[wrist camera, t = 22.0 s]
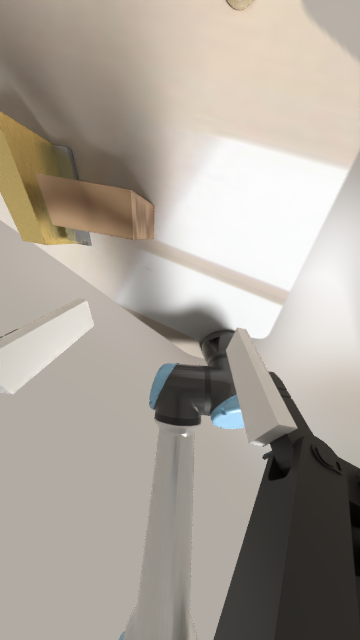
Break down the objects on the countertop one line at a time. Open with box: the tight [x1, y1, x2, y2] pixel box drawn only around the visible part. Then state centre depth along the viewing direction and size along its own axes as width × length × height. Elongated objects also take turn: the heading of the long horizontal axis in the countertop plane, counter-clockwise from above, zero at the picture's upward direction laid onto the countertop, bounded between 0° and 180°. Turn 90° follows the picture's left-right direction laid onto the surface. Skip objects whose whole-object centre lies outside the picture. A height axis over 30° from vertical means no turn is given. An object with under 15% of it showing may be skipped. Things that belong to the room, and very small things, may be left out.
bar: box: [0, 111, 77, 245], centre depth 25 cm, size 16×5×8 cm, turn 171°
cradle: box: [52, 144, 92, 246], centre depth 27 cm, size 16×11×4 cm
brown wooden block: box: [35, 173, 154, 240], centre depth 24 cm, size 6×14×12 cm, turn 81°
